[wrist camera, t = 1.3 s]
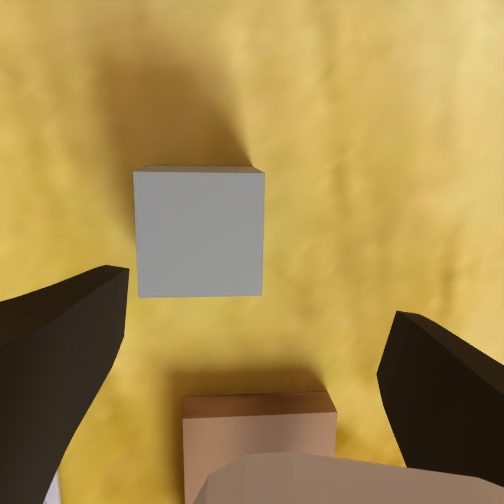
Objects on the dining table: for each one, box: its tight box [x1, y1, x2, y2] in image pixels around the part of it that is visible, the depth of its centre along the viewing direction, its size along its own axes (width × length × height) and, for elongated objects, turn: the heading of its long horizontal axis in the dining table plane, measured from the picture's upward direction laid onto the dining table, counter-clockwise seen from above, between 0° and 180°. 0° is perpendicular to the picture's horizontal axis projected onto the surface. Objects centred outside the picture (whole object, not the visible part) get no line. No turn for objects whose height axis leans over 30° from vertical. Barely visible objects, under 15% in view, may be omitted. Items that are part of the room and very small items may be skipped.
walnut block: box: [183, 391, 337, 504], centre depth 25 cm, size 8×8×2 cm
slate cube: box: [133, 165, 265, 298], centre depth 20 cm, size 5×5×5 cm
